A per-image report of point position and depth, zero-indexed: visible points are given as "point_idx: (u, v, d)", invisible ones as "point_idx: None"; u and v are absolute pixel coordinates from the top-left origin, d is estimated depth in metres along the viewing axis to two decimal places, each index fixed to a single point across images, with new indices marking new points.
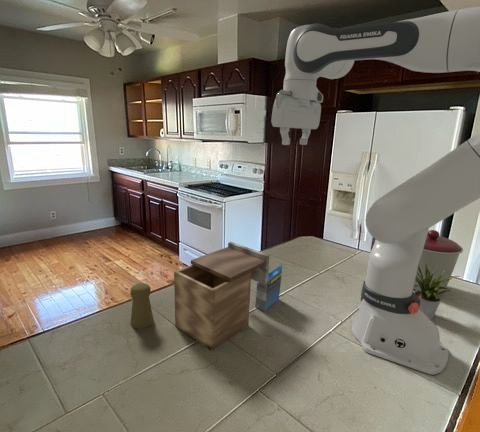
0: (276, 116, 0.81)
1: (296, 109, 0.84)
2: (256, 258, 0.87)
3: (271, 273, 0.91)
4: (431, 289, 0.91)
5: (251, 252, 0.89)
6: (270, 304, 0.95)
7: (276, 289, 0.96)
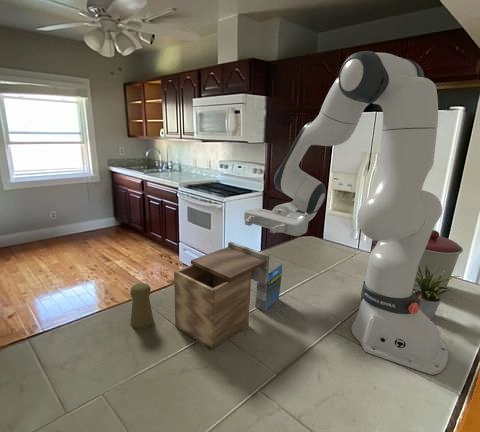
0: None
1: (268, 213, 1.00)
2: (256, 258, 0.87)
3: (271, 273, 0.91)
4: (431, 289, 0.91)
5: (251, 252, 0.89)
6: (270, 304, 0.95)
7: (276, 289, 0.96)
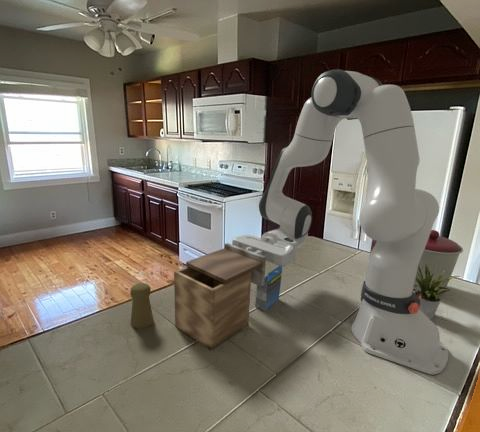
0: None
1: (256, 241, 0.98)
2: (252, 260, 0.86)
3: (271, 273, 0.91)
4: (431, 289, 0.91)
5: (248, 253, 0.87)
6: (270, 304, 0.95)
7: (276, 289, 0.96)
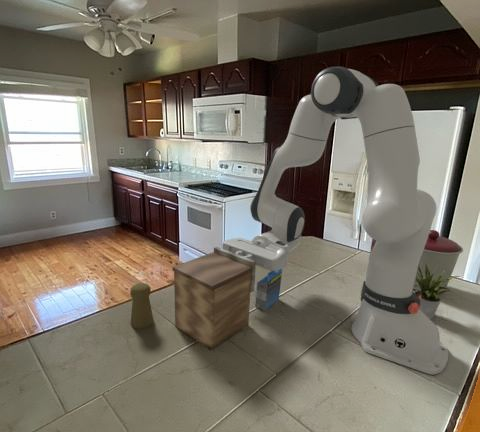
0: None
1: (247, 244, 0.95)
2: (242, 264, 0.82)
3: (271, 273, 0.91)
4: (431, 289, 0.91)
5: (237, 258, 0.84)
6: (270, 304, 0.95)
7: (276, 289, 0.96)
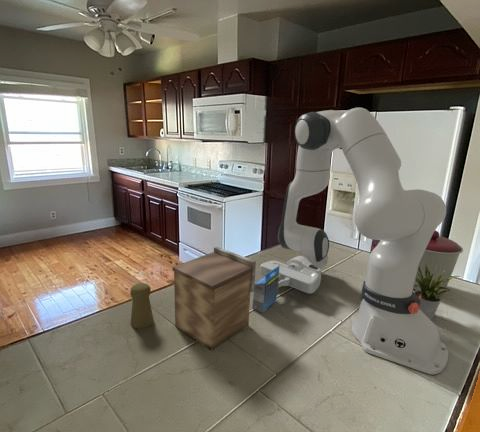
0: None
1: (283, 267, 1.06)
2: (242, 264, 0.82)
3: (268, 274, 0.90)
4: (431, 289, 0.91)
5: (237, 258, 0.84)
6: (267, 306, 0.94)
7: (273, 291, 0.95)
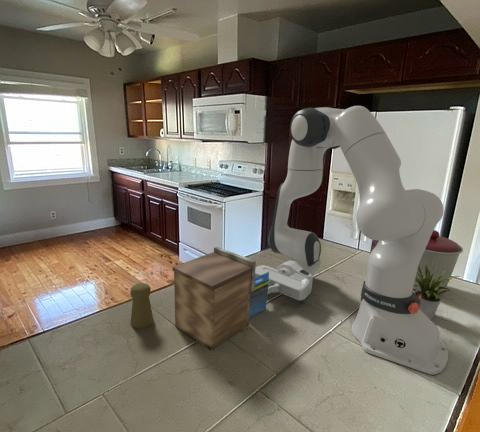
0: None
1: (273, 272, 1.02)
2: (242, 264, 0.82)
3: None
4: (431, 289, 0.91)
5: (237, 258, 0.84)
6: (253, 313, 0.90)
7: (261, 298, 0.91)
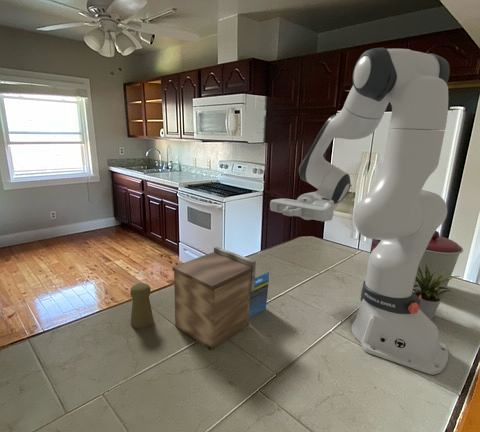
0: None
1: (294, 202, 1.03)
2: (242, 264, 0.82)
3: None
4: (431, 289, 0.91)
5: (237, 258, 0.84)
6: (253, 313, 0.90)
7: (261, 298, 0.91)
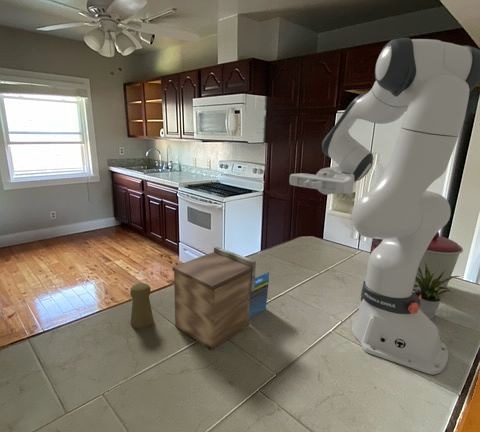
0: None
1: (314, 176, 1.04)
2: (242, 264, 0.82)
3: None
4: (431, 289, 0.91)
5: (237, 258, 0.84)
6: (253, 313, 0.90)
7: (261, 298, 0.91)
